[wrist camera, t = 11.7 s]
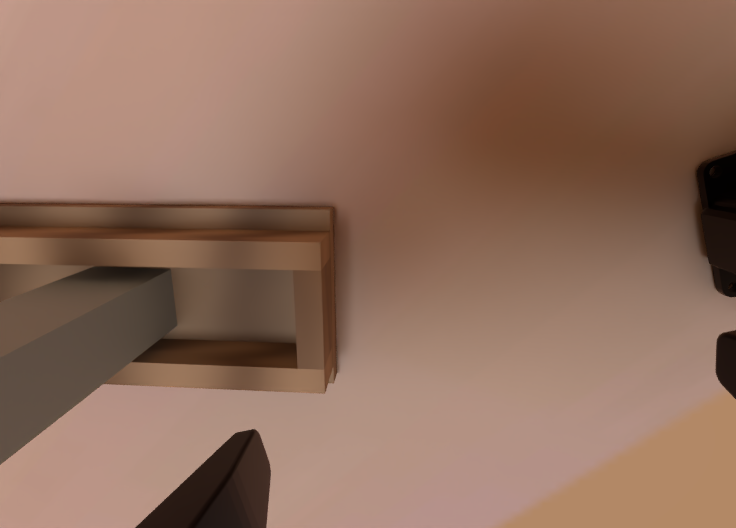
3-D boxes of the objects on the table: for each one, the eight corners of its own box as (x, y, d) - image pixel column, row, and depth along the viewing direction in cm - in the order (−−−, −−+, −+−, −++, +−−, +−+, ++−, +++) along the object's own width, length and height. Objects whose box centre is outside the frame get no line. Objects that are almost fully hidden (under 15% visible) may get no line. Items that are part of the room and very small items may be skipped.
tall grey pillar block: (170, 269, 20) (-156, 438, 8) (177, 325, 21) (-113, 552, 9) (93, 266, 21) (-330, 426, 9) (103, 322, 22) (-273, 539, 10)
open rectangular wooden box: (333, 206, 20) (319, 218, 17) (336, 373, 22) (325, 412, 19) (-50, 202, 21) (-133, 212, 18) (-9, 359, 24) (-75, 393, 21)
